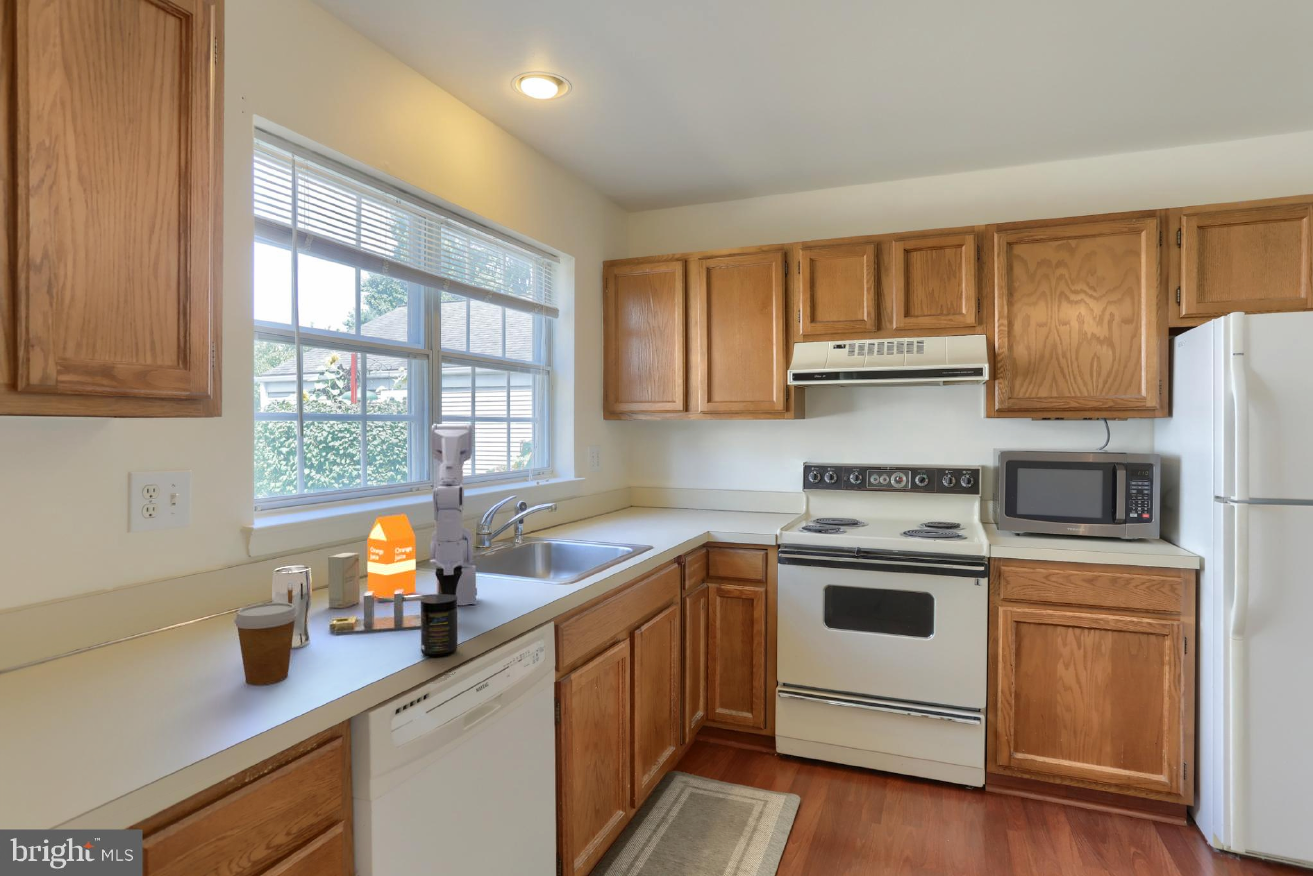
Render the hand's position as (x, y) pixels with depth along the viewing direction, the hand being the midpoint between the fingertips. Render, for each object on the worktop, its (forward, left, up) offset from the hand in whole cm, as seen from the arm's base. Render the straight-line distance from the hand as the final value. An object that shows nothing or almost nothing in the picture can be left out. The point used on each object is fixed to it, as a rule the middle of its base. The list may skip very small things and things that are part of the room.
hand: (449, 601), depth 154 cm
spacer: (+22, 0, -3) cm, 22 cm away
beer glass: (+29, +9, -5) cm, 31 cm away
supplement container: (+1, +22, -5) cm, 23 cm away
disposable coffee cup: (+29, +28, -5) cm, 41 cm away
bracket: (+13, 0, -4) cm, 14 cm away
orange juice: (+14, -30, -5) cm, 34 cm away
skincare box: (+24, -21, -5) cm, 33 cm away
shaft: (+7, 0, -1) cm, 7 cm away
